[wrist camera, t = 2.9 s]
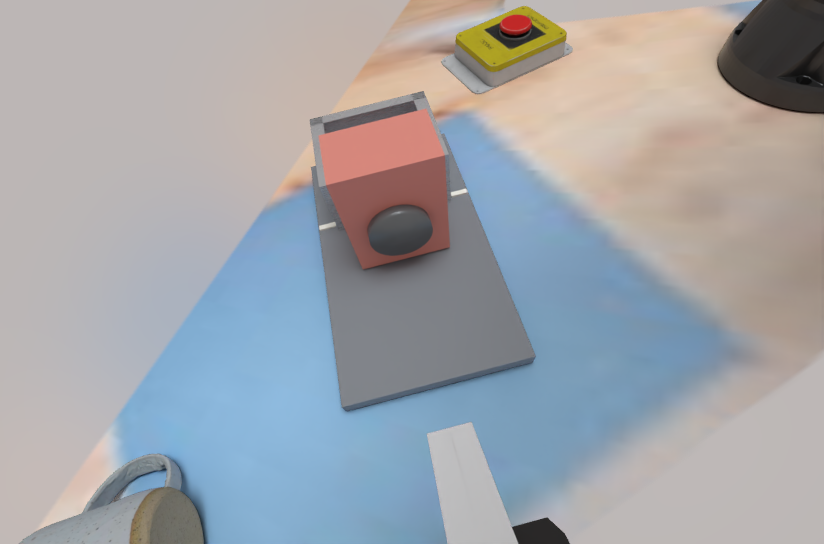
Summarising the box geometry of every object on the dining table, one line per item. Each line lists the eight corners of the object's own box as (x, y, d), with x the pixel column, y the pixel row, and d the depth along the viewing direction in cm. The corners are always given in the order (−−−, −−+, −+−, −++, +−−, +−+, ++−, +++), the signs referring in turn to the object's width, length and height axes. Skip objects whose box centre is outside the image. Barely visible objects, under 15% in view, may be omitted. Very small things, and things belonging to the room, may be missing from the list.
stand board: (444, 144, 44) (443, 132, 42) (532, 362, 30) (536, 355, 29) (315, 176, 44) (310, 165, 42) (347, 411, 30) (341, 406, 29)
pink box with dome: (435, 205, 37) (426, 108, 28) (453, 256, 34) (449, 165, 25) (354, 226, 37) (318, 135, 28) (364, 278, 34) (327, 196, 25)
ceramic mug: (218, 598, 25) (132, 630, 19) (92, 660, 24) (-46, 717, 18) (202, 437, 31) (131, 418, 24) (98, 483, 30) (-5, 476, 23)
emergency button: (584, 18, 46) (477, 66, 44) (575, 54, 50) (476, 100, 48) (535, -11, 51) (436, 31, 49) (530, 24, 55) (438, 64, 52)
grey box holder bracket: (428, 140, 42) (423, 91, 37) (451, 201, 38) (449, 154, 32) (328, 165, 42) (309, 119, 37) (338, 230, 37) (319, 187, 32)
